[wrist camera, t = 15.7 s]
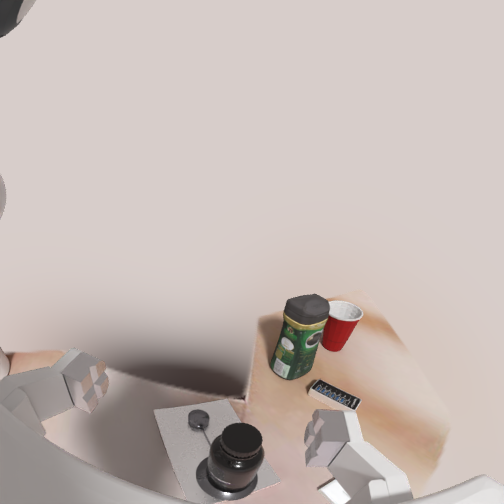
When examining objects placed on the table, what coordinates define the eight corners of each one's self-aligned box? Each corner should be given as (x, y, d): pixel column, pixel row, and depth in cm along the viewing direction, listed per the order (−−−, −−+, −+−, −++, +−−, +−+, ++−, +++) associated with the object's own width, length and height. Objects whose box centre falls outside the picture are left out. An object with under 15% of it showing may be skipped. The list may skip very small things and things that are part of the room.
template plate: (192, 512, 22) (192, 508, 21) (153, 412, 39) (153, 405, 39) (281, 485, 29) (285, 480, 28) (226, 401, 46) (227, 394, 45)
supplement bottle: (205, 493, 25) (210, 458, 22) (206, 457, 32) (211, 413, 28) (255, 494, 26) (274, 459, 23) (251, 459, 33) (266, 416, 29)
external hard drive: (395, 482, 28) (347, 522, 21) (366, 457, 34) (316, 491, 28) (400, 477, 27) (352, 519, 21) (371, 452, 34) (319, 488, 27)
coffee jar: (292, 354, 65) (311, 287, 60) (315, 371, 59) (339, 302, 54) (263, 365, 59) (280, 293, 54) (286, 385, 53) (309, 311, 48)
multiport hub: (316, 385, 54) (319, 378, 53) (358, 406, 48) (362, 399, 47) (306, 395, 51) (309, 388, 50) (350, 418, 44) (355, 411, 44)
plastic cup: (306, 336, 74) (317, 298, 71) (338, 334, 76) (350, 299, 73) (322, 359, 64) (336, 318, 61) (356, 355, 66) (371, 317, 63)
